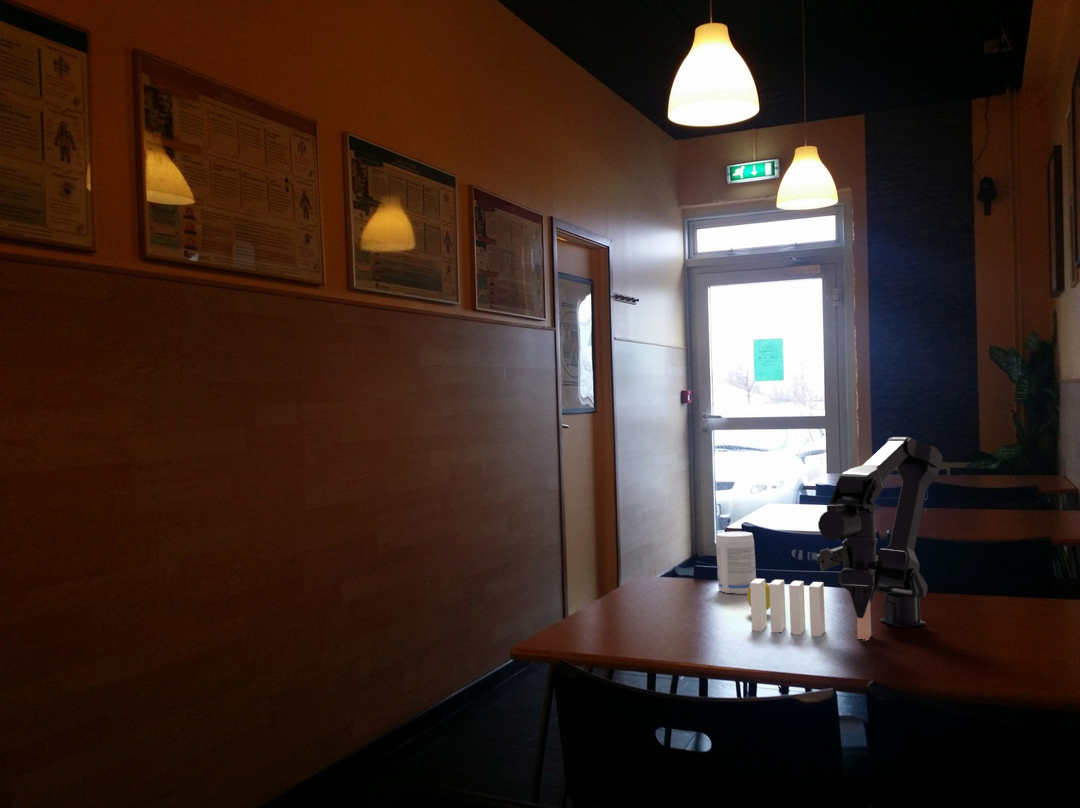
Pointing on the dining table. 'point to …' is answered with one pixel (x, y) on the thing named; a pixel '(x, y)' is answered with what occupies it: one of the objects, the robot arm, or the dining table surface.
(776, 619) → the tile
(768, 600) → the lemon
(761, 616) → the tile end
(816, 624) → the tile
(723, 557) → the supplement tub
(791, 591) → the tile
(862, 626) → the tile
